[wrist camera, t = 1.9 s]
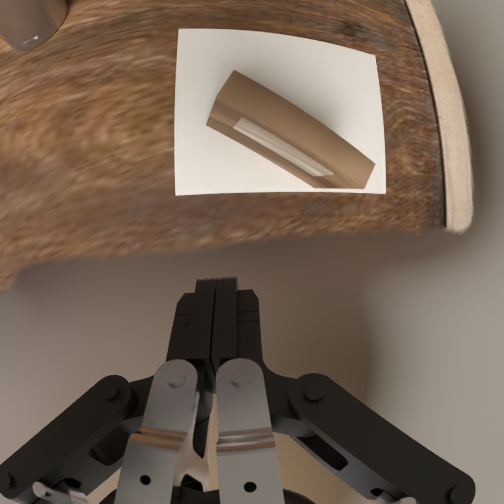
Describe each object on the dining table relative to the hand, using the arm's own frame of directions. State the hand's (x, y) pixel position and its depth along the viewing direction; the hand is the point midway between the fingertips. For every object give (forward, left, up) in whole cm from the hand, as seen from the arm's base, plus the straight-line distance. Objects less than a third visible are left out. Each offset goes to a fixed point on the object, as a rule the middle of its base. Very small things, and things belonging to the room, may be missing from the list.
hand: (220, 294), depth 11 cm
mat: (-14, +11, -21) cm, 27 cm away
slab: (-9, +8, -20) cm, 23 cm away
